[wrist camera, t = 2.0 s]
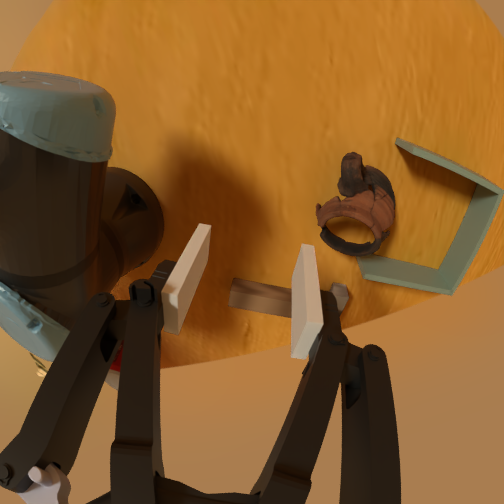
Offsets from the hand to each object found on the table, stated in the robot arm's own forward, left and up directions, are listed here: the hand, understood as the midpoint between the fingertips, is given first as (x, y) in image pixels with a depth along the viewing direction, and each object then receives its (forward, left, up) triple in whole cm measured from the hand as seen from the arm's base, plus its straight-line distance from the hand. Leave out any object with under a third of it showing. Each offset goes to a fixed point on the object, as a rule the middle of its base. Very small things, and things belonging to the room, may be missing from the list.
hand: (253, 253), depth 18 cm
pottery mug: (+10, 0, -17) cm, 20 cm away
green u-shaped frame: (+21, 0, -17) cm, 27 cm away
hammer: (+6, -17, -17) cm, 25 cm away
